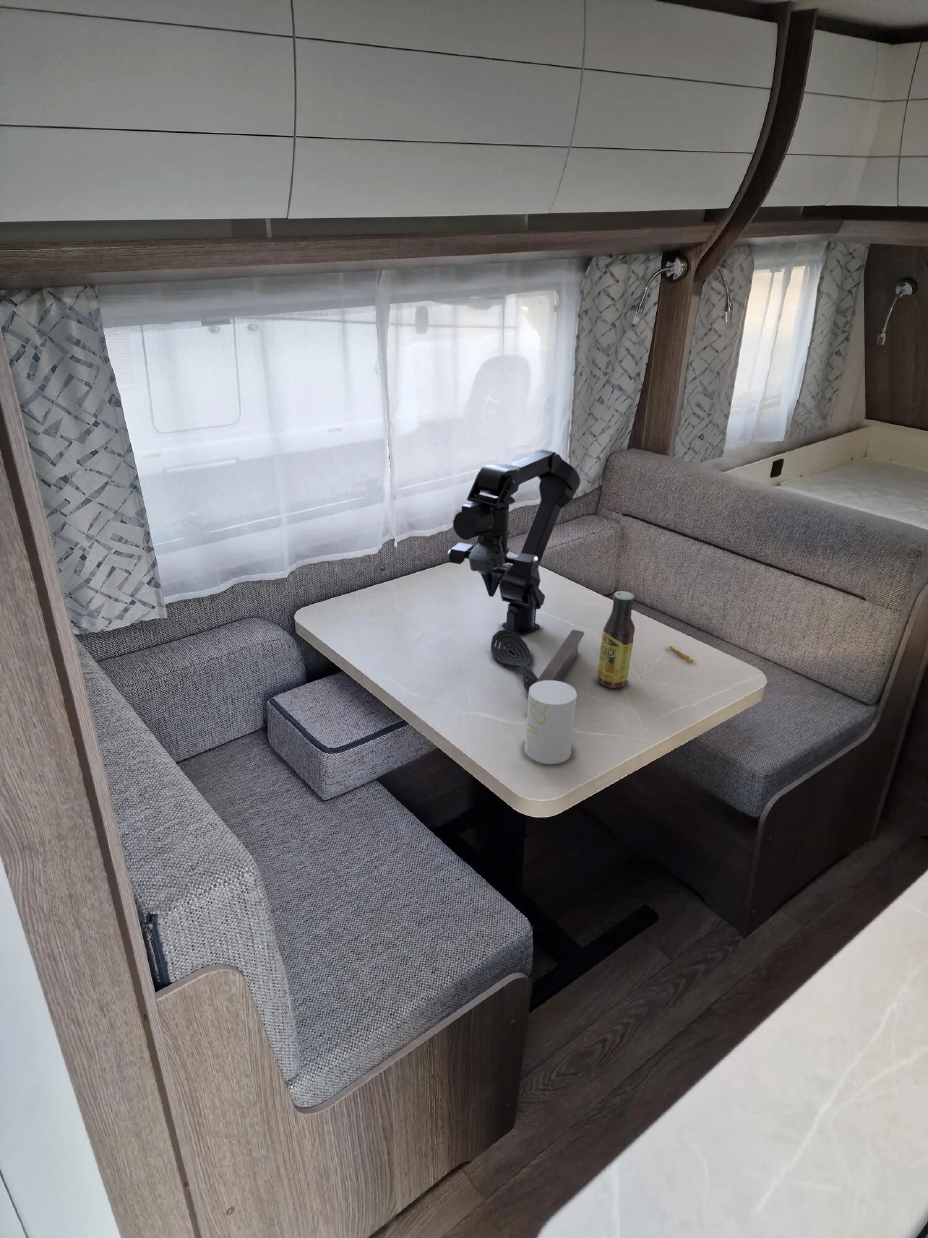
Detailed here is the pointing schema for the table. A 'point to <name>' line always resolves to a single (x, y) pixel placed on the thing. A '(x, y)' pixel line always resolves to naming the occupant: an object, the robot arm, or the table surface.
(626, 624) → the sauce bottle
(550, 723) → the cup
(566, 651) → the rail
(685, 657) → the golden brown bumpy stick
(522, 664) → the hairbrush
